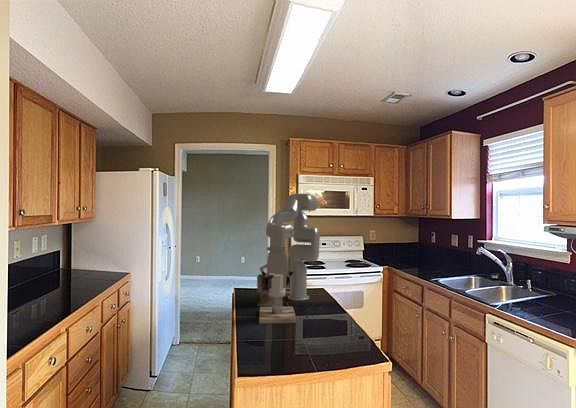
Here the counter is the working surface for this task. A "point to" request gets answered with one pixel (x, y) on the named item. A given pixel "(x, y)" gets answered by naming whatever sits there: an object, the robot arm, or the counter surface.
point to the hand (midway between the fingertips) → (277, 285)
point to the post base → (282, 317)
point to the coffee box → (264, 290)
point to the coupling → (277, 287)
